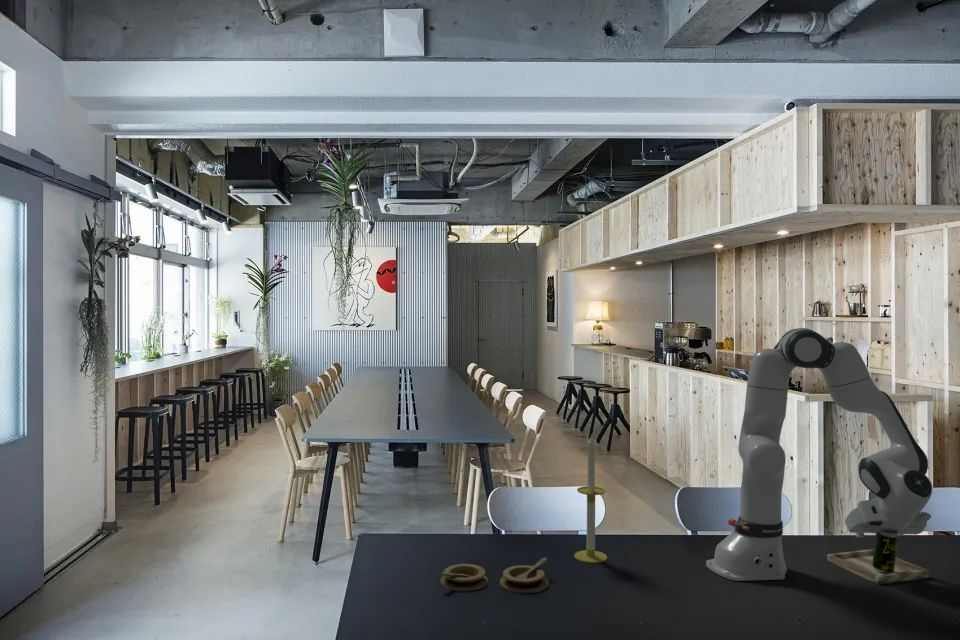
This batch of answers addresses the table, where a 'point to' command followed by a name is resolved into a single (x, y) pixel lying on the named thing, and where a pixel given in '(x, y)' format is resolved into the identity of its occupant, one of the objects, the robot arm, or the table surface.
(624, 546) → the table surface
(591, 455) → the candle
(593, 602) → the table surface
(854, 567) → the birch tray
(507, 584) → the tableware set
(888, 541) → the beer can
